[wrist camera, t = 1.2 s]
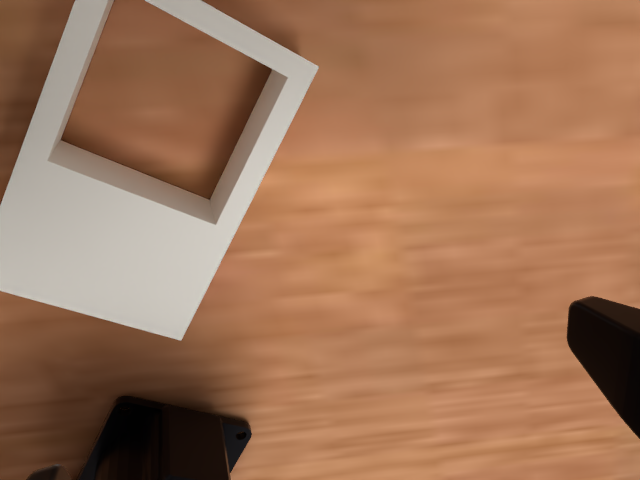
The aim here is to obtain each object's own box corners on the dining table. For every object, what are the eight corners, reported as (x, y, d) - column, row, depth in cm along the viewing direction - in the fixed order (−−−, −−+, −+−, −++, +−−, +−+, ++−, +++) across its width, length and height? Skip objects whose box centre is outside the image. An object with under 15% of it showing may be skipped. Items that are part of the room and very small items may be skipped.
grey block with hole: (178, 306, 22) (181, 340, 20) (-7, 249, 19) (-29, 282, 17) (301, 58, 19) (319, 66, 17) (104, -53, 16) (96, -59, 14)
